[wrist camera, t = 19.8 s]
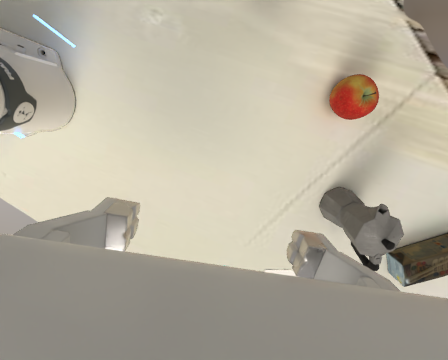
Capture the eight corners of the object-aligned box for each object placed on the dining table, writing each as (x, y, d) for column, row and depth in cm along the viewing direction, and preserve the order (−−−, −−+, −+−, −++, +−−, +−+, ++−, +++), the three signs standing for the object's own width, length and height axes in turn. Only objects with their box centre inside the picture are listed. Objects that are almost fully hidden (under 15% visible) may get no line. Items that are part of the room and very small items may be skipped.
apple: (313, 98, 47) (339, 97, 38) (344, 69, 45) (379, 59, 36) (335, 125, 49) (365, 130, 40) (365, 98, 47) (403, 96, 38)
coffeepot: (319, 181, 53) (369, 216, 36) (357, 176, 53) (425, 210, 36) (316, 235, 58) (360, 289, 41) (351, 231, 58) (409, 283, 41)
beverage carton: (384, 250, 61) (404, 267, 55) (453, 229, 60) (482, 243, 54) (387, 272, 63) (406, 290, 57) (453, 252, 62) (480, 268, 56)
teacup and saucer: (283, 312, 66) (287, 325, 63) (287, 291, 64) (292, 303, 60) (311, 312, 67) (317, 325, 63) (316, 292, 64) (323, 304, 61)
